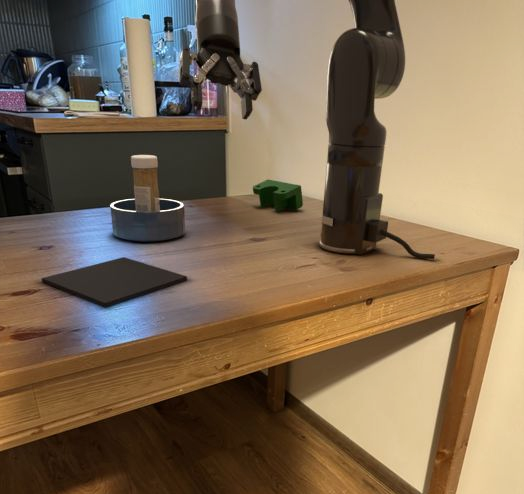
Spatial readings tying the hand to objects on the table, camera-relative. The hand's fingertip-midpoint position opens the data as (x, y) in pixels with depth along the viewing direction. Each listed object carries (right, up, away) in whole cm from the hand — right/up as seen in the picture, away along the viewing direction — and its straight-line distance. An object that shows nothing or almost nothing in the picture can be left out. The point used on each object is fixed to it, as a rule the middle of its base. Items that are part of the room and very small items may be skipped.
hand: (223, 112), depth 86 cm
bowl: (-15, -19, +8) cm, 25 cm away
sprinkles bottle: (-15, -19, +8) cm, 25 cm away
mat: (-14, -31, -16) cm, 38 cm away
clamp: (+10, -7, +35) cm, 37 cm away
